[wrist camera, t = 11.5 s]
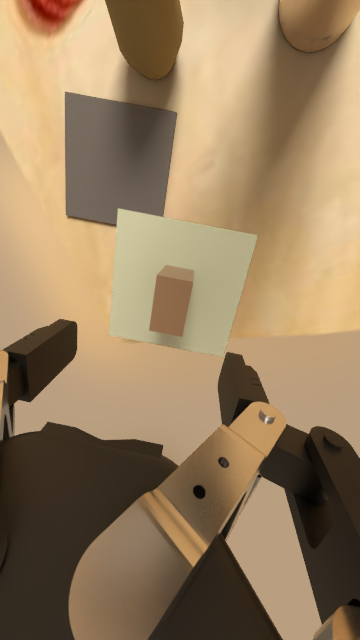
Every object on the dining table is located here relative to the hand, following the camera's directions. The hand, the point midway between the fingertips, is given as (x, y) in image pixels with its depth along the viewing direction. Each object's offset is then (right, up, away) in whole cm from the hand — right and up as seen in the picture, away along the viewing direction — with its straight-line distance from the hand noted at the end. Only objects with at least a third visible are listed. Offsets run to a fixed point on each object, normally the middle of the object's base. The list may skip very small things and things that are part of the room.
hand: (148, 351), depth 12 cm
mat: (-8, +25, +23) cm, 35 cm away
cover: (+1, +5, +14) cm, 15 cm away
